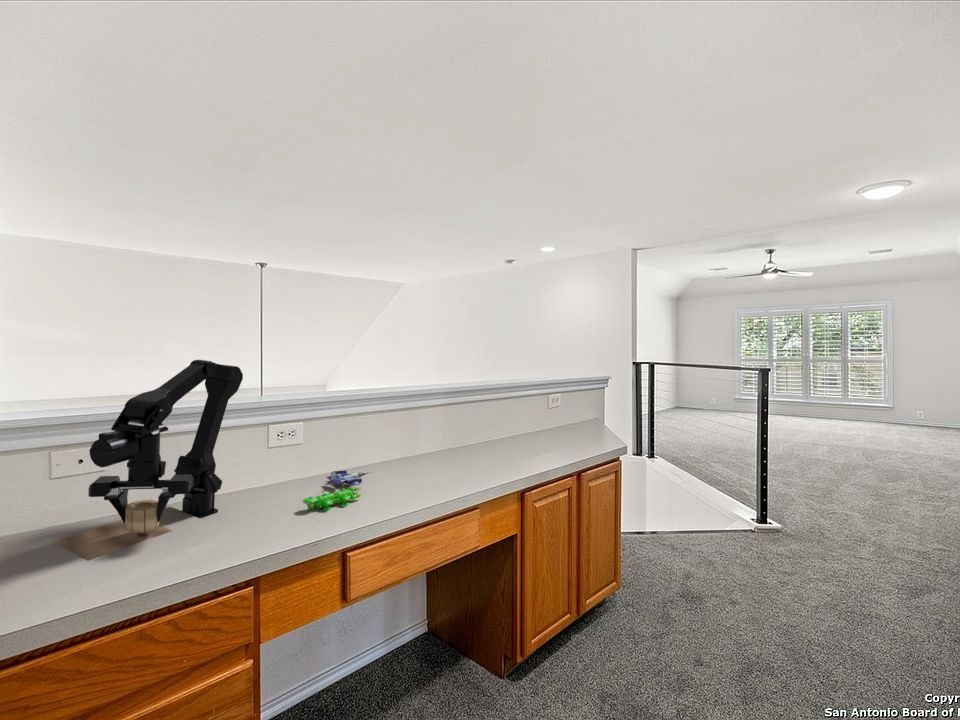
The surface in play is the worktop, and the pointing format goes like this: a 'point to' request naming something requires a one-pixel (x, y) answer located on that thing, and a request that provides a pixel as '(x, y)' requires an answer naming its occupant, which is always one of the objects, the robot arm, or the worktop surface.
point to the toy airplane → (345, 477)
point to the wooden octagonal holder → (141, 516)
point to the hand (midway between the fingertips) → (142, 522)
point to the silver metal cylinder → (142, 534)
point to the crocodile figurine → (332, 498)
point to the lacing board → (105, 540)
